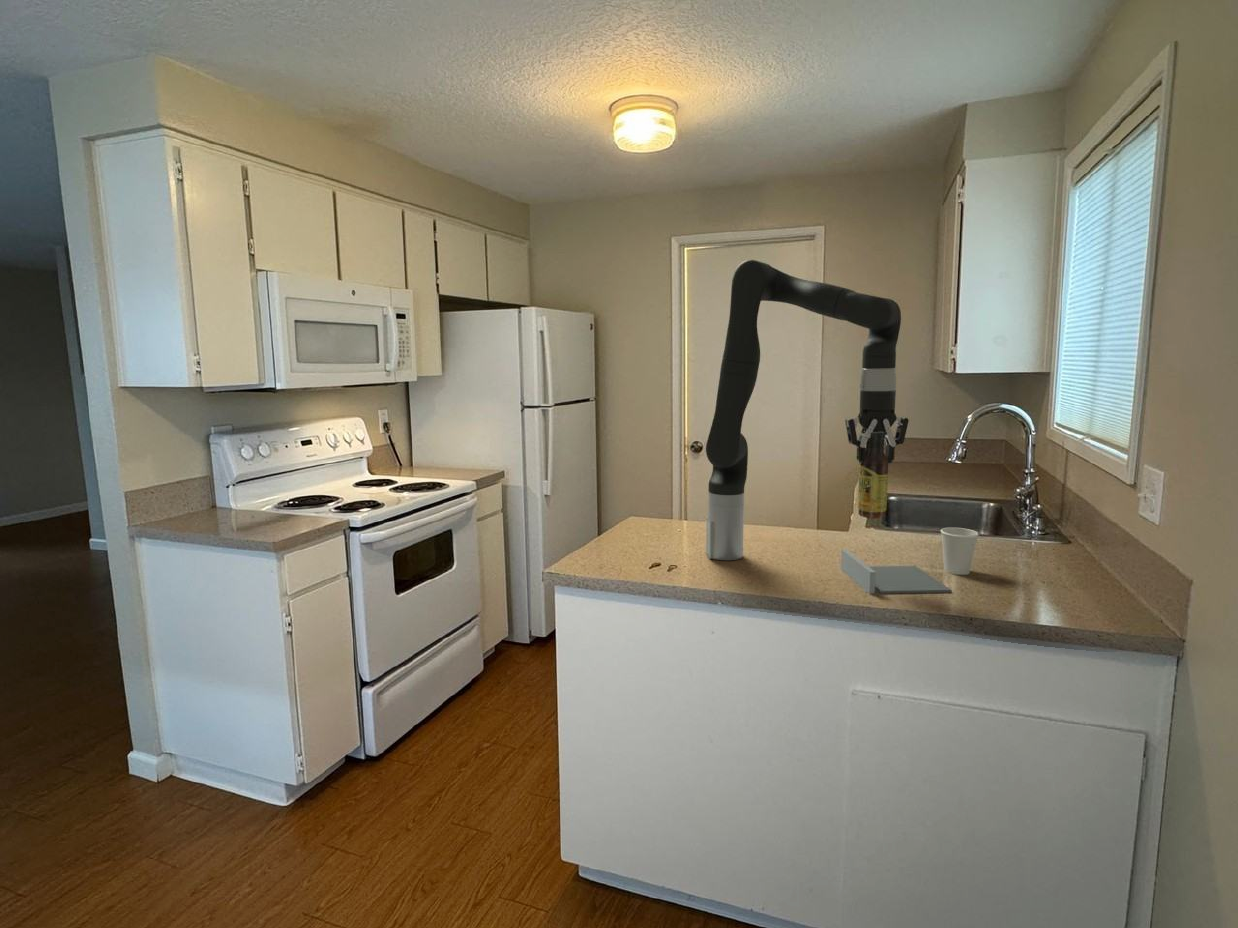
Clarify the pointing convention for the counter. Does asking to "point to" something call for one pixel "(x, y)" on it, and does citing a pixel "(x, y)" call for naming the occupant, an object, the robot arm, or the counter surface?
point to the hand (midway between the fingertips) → (875, 462)
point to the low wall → (858, 571)
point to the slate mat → (906, 580)
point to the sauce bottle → (873, 478)
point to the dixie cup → (958, 549)
